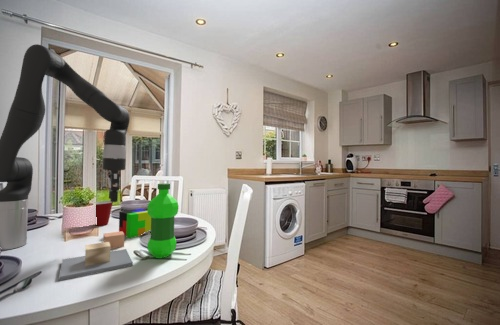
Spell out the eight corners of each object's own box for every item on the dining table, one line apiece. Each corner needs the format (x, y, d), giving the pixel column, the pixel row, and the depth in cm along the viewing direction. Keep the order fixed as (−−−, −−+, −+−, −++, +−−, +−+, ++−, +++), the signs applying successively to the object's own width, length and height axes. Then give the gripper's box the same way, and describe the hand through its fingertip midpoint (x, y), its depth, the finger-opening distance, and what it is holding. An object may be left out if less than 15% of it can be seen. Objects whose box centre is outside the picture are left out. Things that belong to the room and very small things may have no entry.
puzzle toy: (140, 229, 115) (140, 208, 116) (151, 233, 110) (152, 211, 110) (118, 233, 107) (119, 211, 107) (130, 238, 101) (130, 214, 102)
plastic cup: (97, 221, 128) (98, 199, 128) (117, 222, 127) (118, 200, 127) (82, 227, 117) (83, 202, 117) (104, 227, 116) (105, 203, 117)
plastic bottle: (183, 252, 87) (184, 183, 87) (164, 263, 77) (166, 185, 77) (160, 248, 90) (161, 182, 90) (139, 258, 80) (141, 184, 80)
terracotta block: (104, 250, 87) (105, 236, 87) (103, 246, 91) (103, 233, 91) (124, 246, 91) (124, 234, 91) (121, 243, 95) (122, 231, 95)
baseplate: (58, 280, 64) (59, 276, 64) (62, 262, 75) (62, 259, 75) (132, 265, 74) (132, 262, 74) (125, 251, 86) (125, 249, 86)
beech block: (85, 266, 71) (85, 249, 71) (85, 260, 75) (85, 245, 75) (110, 261, 75) (110, 246, 75) (108, 256, 79) (109, 241, 79)
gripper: (102, 157, 94) (100, 198, 94) (103, 156, 82) (102, 203, 82) (123, 158, 98) (122, 197, 98) (128, 157, 86) (126, 202, 86)
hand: (113, 200), depth 90 cm, fingers open, 8 cm apart
